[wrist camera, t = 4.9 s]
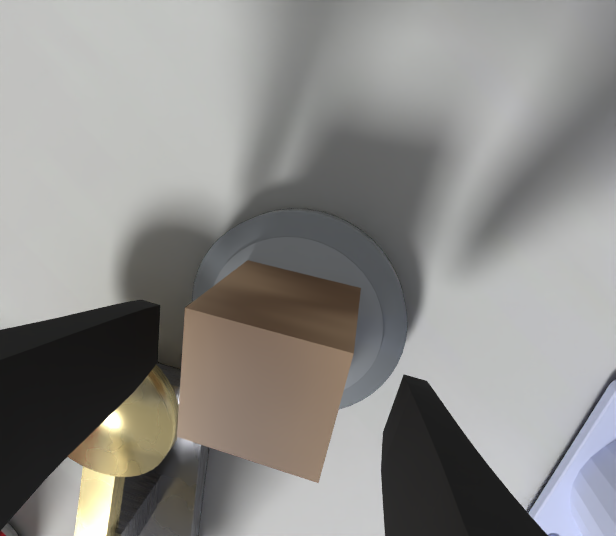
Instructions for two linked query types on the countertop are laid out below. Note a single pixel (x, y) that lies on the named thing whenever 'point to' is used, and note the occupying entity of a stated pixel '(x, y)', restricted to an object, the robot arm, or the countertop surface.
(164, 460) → the balance
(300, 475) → the block
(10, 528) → the soda can
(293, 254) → the dish
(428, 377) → the countertop surface
